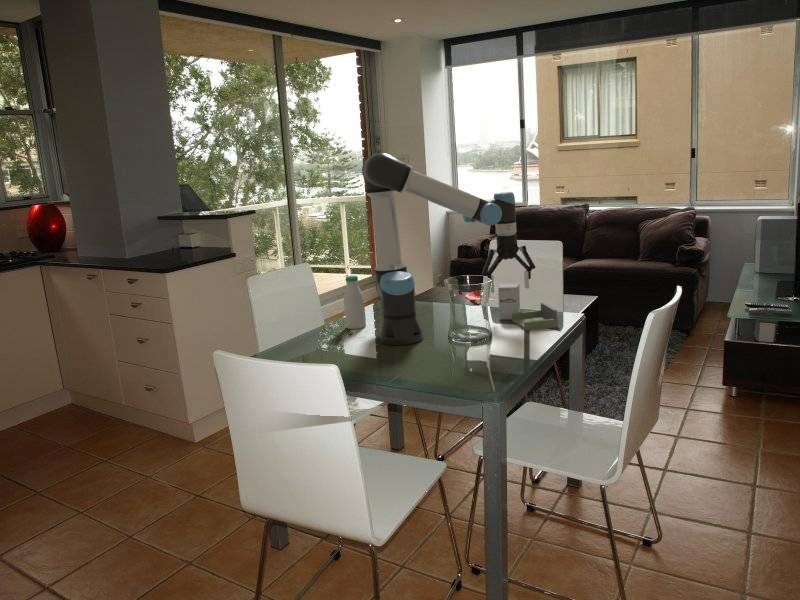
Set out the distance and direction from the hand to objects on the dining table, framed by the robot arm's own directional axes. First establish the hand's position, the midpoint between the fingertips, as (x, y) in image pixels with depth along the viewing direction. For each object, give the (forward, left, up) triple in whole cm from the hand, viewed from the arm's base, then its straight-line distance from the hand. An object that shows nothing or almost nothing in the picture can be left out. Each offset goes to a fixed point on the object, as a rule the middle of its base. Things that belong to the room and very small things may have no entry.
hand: (509, 290), depth 246 cm
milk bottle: (-58, +12, -11) cm, 61 cm away
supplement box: (0, 0, -11) cm, 11 cm away
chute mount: (+5, -13, -11) cm, 17 cm away
